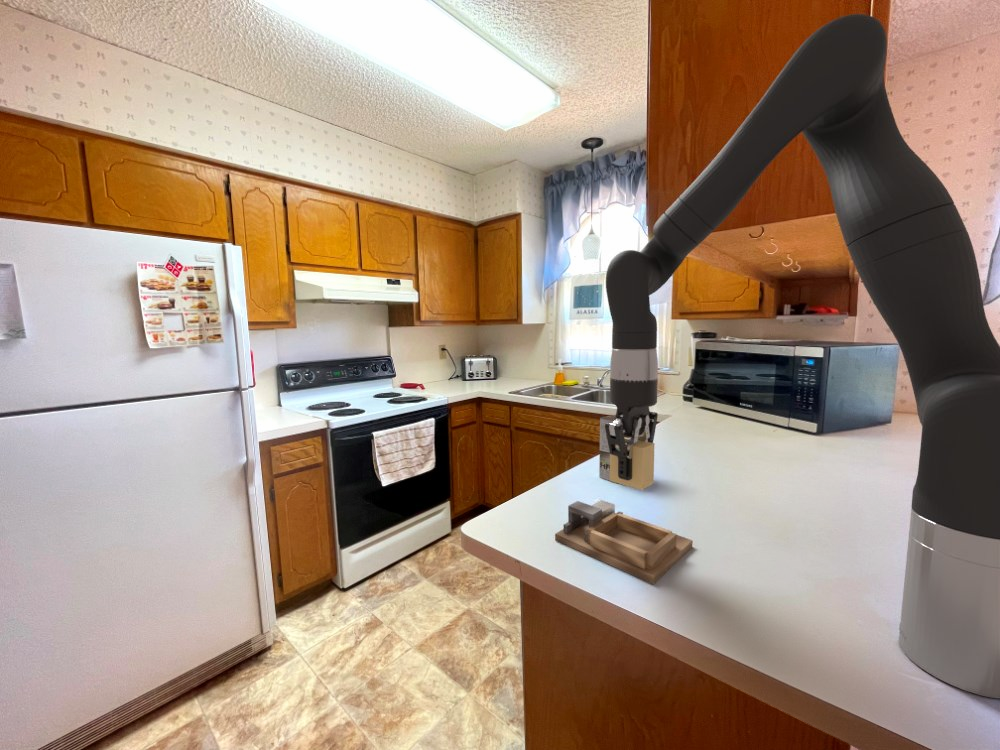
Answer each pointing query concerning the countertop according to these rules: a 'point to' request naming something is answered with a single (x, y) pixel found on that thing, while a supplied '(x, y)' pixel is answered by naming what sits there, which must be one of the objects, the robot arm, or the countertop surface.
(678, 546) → the brown tray fixture board
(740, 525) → the countertop surface
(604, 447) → the coffee box
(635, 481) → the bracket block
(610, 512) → the light grey small block
